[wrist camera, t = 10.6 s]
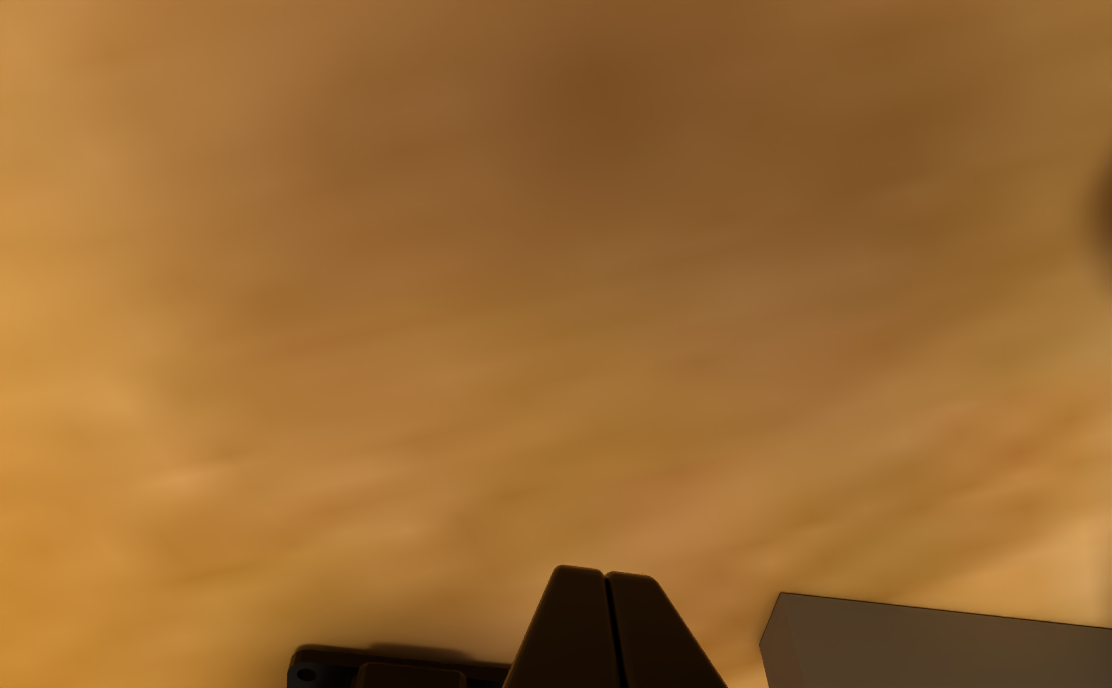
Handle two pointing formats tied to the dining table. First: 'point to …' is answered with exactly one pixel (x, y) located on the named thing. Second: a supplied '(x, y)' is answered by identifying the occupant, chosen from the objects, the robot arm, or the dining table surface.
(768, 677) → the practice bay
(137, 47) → the dining table surface
